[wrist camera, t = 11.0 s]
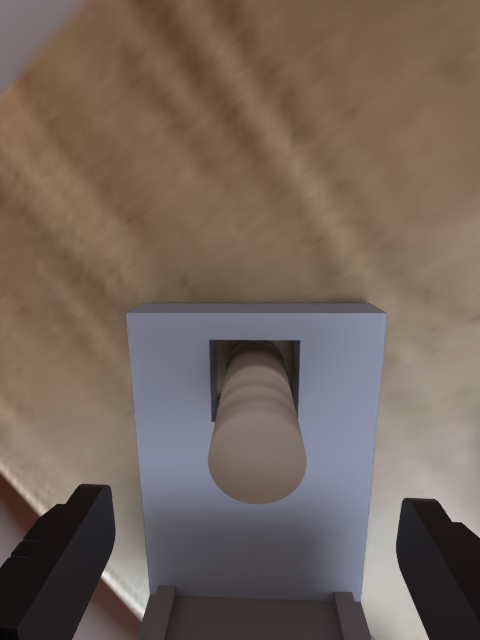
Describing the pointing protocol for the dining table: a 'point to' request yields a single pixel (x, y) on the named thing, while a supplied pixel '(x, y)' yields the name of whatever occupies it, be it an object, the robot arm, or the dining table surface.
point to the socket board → (255, 519)
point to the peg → (256, 428)
